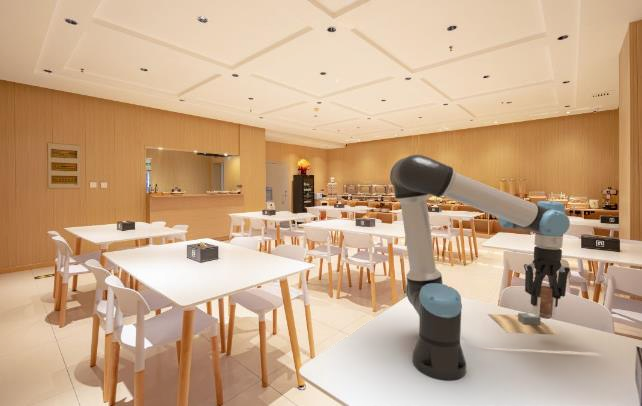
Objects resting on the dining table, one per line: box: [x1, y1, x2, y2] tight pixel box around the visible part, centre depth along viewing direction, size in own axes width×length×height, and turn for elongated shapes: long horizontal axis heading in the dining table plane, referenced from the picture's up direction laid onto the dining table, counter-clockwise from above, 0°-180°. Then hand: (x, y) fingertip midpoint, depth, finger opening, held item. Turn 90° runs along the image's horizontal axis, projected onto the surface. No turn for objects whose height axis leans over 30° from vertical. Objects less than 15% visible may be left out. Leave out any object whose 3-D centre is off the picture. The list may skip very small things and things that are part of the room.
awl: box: [538, 285, 553, 320], centre depth 103 cm, size 4×4×10 cm
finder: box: [517, 312, 542, 326], centre depth 118 cm, size 6×4×3 cm, turn 85°
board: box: [487, 313, 560, 336], centre depth 118 cm, size 18×16×1 cm
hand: (543, 315), depth 103 cm, fingers closed on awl, 4 cm apart
